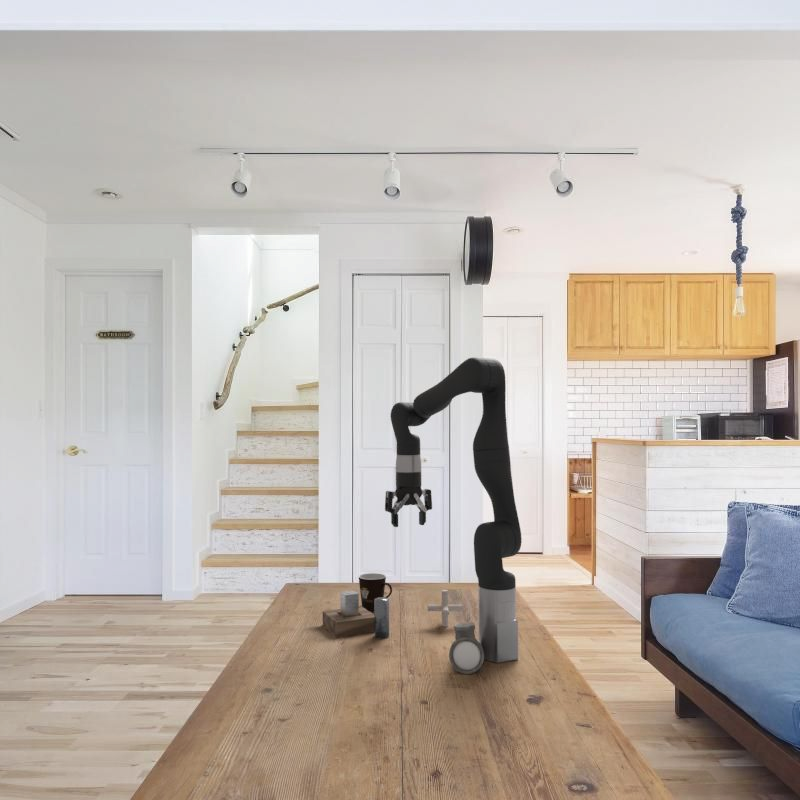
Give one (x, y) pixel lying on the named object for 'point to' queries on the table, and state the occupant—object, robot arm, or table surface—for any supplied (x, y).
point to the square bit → (349, 604)
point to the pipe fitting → (466, 649)
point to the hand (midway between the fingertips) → (408, 525)
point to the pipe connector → (445, 608)
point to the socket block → (348, 622)
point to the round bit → (381, 617)
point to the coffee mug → (372, 589)
